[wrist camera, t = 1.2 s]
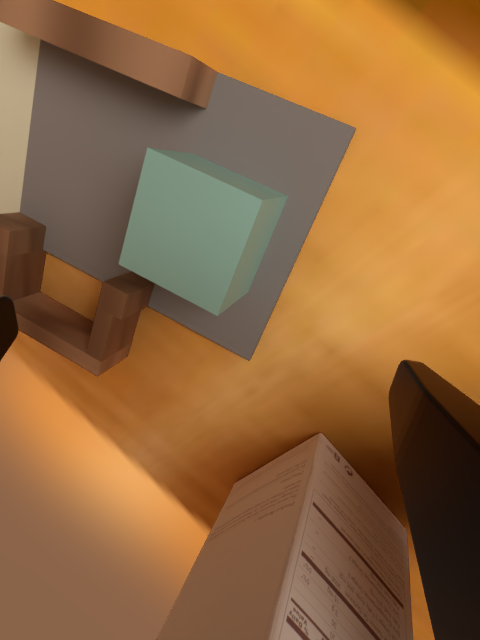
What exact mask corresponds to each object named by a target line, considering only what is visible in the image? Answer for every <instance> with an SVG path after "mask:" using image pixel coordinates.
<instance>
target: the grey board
mask: <svg viewBox="0 0 480 640" xmlns="http://www.w3.org/2000/svg"><path fill="white" fill-rule="evenodd" d="M355 130H356V128H355V127H352V126H350V125H347V124H345V123H342V122H340V121H337V120H335V119H332V118H330V117H327V116H325V115H322V114H320V113H317V112H315V111H312V110H310V109H307V108H305V107H303V106H300V105H298V104H295V103H293V102H290V101H288V100H285V99H283V98H280V97H278V96H275V95H273V94H270V93H268V92H265V91H263V90H260V89H258V88H255V87H253V86H251V85H248V84H246V83H243V82H241V81H238V80H236V79H233V78H231V77H228V76H226V75H223V74H221V73H217V76H216V79H215V83H214V86H213V89H212V93H211V96H210V99H209V103H208V106H207V109H206V108H203V107H201V106H198V105H196V104H193V103H191V102H188V101H186V100H183V99H181V98H178V97H176V96H173V95H171V94H169V93H166V92H164V91H162V90H159V89H157V88H155V87H152V86H150V85H148V84H145V83H143V82H140V81H138V80H136V79H133V78H131V77H129V76H126V75H124V74H122V73H119V72H117V71H115V70H112V69H110V68H107V67H105V66H103V65H100V64H98V63H96V62H93V61H91V60H89V59H86V58H84V57H82V56H79V55H77V54H75V53H72V52H70V51H67V50H65V49H63V48H60V47H58V46H56V45H53V44H51V43H49V42H46V41H44V40H42V39H39V38H37V37H34V36H32V35H30V34H27V33H25V32H23V31H20V30H18V29H16V28H13V27H11V26H9V25H6V24H4V23H1V22H0V214H4V213H16V212H20V213H22V214H24V215H26V216H28V217H30V218H32V219H34V220H35V221H37V222H39V223H41V224H43V225H45V226H46V232H45V239H44V245H43V250H44V251H46V252H48V253H50V254H52V255H53V256H55V257H57V258H59V259H61V260H63V261H65V262H66V263H68V264H70V265H72V266H74V267H76V268H78V269H79V270H81V271H83V272H85V273H87V274H89V275H91V276H92V277H94V278H96V279H98V280H100V281H102V282H103V281H106V280H109V279H111V278H114V277H117V276H120V275H123V274H126V273H129V272H131V270H129V269H127V268H125V267H123V266H121V265H119V260H120V256H121V252H122V248H123V244H124V240H125V236H126V232H127V228H128V224H129V220H130V216H131V212H132V208H133V203H134V199H135V195H136V191H137V187H138V183H139V179H140V175H141V171H142V167H143V163H144V159H145V155H146V151H147V147H148V148H156V149H163V150H170V151H177V152H185V153H192V154H195V155H197V156H200V157H202V158H204V159H206V160H208V161H211V162H213V163H215V164H217V165H220V166H222V167H224V168H226V169H229V170H231V171H233V172H235V173H237V174H240V175H242V176H244V177H246V178H249V179H251V180H253V181H255V182H257V183H260V184H262V185H264V186H266V187H269V188H271V189H273V190H275V191H277V192H280V193H282V194H284V195H286V196H288V198H287V200H286V202H285V205H284V207H283V210H282V212H281V214H280V217H279V219H278V222H277V224H276V226H275V229H274V231H273V234H272V236H271V238H270V241H269V243H268V246H267V248H266V250H265V253H264V255H263V258H262V260H261V262H260V265H259V267H258V270H257V272H256V274H255V277H254V279H253V281H252V284H251V286H250V289H249V291H248V293H246V294H245V295H244V296H242V297H241V298H240V299H239V300H237V301H236V302H235V303H234V304H232V305H231V306H230V307H228V308H227V309H226V310H225V311H223V312H222V313H221V314H220V315H218V316H216V315H215V314H213V313H211V312H209V311H207V310H205V309H203V308H201V307H199V306H197V305H195V304H194V303H192V302H190V301H188V300H186V299H184V298H182V297H180V296H178V295H176V294H174V293H173V292H171V291H169V290H167V289H165V288H163V287H161V286H159V285H157V284H154V288H153V291H152V294H151V298H150V301H149V304H148V307H150V308H152V309H154V310H156V311H157V312H159V313H161V314H163V315H165V316H167V317H169V318H170V319H172V320H174V321H176V322H178V323H180V324H182V325H183V326H185V327H187V328H189V329H191V330H193V331H195V332H196V333H198V334H200V335H202V336H204V337H206V338H208V339H209V340H211V341H213V342H215V343H217V344H219V345H221V346H222V347H224V348H226V349H228V350H230V351H232V352H234V353H235V354H237V355H239V356H241V357H243V358H245V359H247V360H248V361H249V360H250V359H251V357H252V355H253V353H254V351H255V349H256V346H257V344H258V342H259V340H260V338H261V335H262V333H263V331H264V329H265V327H266V325H267V322H268V320H269V318H270V316H271V314H272V311H273V309H274V307H275V305H276V303H277V301H278V298H279V296H280V294H281V292H282V290H283V287H284V285H285V283H286V281H287V279H288V277H289V274H290V272H291V270H292V268H293V266H294V263H295V261H296V259H297V257H298V255H299V253H300V250H301V248H302V246H303V244H304V242H305V239H306V237H307V235H308V233H309V231H310V229H311V226H312V224H313V222H314V220H315V218H316V215H317V213H318V211H319V209H320V207H321V205H322V202H323V200H324V198H325V196H326V194H327V191H328V189H329V187H330V185H331V183H332V181H333V178H334V176H335V174H336V172H337V170H338V167H339V165H340V163H341V161H342V159H343V157H344V154H345V152H346V150H347V148H348V146H349V143H350V141H351V139H352V137H353V135H354V133H355Z"/></svg>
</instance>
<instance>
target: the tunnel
mask: <svg viewBox="0 0 480 640" xmlns="http://www.w3.org/2000/svg"><path fill="white" fill-rule="evenodd" d="M0 22H1V23H4V24H6V25H9V26H11V27H13V28H16V29H18V30H20V31H23V32H25V33H27V34H30V35H32V36H34V37H37V38H39V39H42V40H44V41H46V42H49V43H51V44H53V45H56V46H58V47H60V48H63V49H65V50H67V51H70V52H72V53H75V54H77V55H79V56H82V57H84V58H86V59H89V60H91V61H93V62H96V63H98V64H100V65H103V66H105V67H107V68H110V69H112V70H115V71H117V72H119V73H122V74H124V75H126V76H129V77H131V78H133V79H136V80H138V81H140V82H143V83H145V84H148V85H150V86H152V87H155V88H157V89H159V90H162V91H164V92H166V93H169V94H171V95H173V96H176V97H178V98H181V99H183V100H186V101H188V102H191V103H193V104H196V105H198V106H201V107H203V108H206V109H207V106H208V103H209V99H210V96H211V93H212V89H213V86H214V83H215V79H216V76H217V73H218V72H216V71H215V70H213V69H212V68H210V67H209V66H207V65H205V64H204V63H202V62H201V61H199V60H197V59H196V58H194V57H193V56H190V55H188V54H185V53H183V52H180V51H178V50H175V49H173V48H171V47H168V46H166V45H163V44H161V43H158V42H156V41H153V40H151V39H148V38H146V37H143V36H141V35H138V34H136V33H133V32H131V31H128V30H126V29H123V28H121V27H118V26H116V25H113V24H111V23H108V22H106V21H103V20H101V19H98V18H96V17H93V16H91V15H88V14H86V13H83V12H81V11H78V10H76V9H73V8H71V7H68V6H66V5H63V4H61V3H58V2H56V1H53V0H0ZM45 232H46V226H45V225H43V224H41V223H39V222H37V221H35V220H34V219H32V218H30V217H28V216H26V215H24V214H22V213H20V212H16V213H4V214H0V295H4V296H8V297H10V298H11V299H12V300H13V302H14V307H15V312H16V317H17V322H18V330H20V331H21V332H23V333H25V334H26V335H28V336H30V337H31V338H33V339H35V340H37V341H38V342H40V343H42V344H43V345H45V346H47V347H48V348H50V349H52V350H54V351H55V352H57V353H59V354H60V355H62V356H64V357H65V358H67V359H69V360H70V361H72V362H74V363H76V364H77V365H79V366H81V367H82V368H84V369H86V370H87V371H89V372H91V373H93V374H94V375H96V376H99V375H100V374H102V373H103V372H105V371H106V370H108V369H109V368H111V367H112V366H114V365H115V364H117V363H118V362H120V361H121V360H123V359H124V358H126V357H127V356H128V352H129V349H130V346H131V342H132V339H133V335H134V332H135V328H136V325H137V321H138V318H139V315H140V311H141V310H142V309H144V308H146V307H148V304H149V301H150V298H151V294H152V291H153V288H154V284H155V283H154V282H152V281H150V280H148V279H146V278H144V277H142V276H140V275H138V274H136V273H134V272H133V271H131V272H129V273H126V274H123V275H120V276H117V277H114V278H111V279H109V280H106V281H103V284H102V289H101V293H100V297H99V301H98V306H97V310H96V314H95V318H94V322H92V321H91V320H89V319H87V318H85V317H83V316H82V315H80V314H78V313H76V312H74V311H73V310H71V309H69V308H67V307H66V306H64V305H62V304H60V303H58V302H57V301H55V300H53V299H51V298H50V297H48V296H46V295H44V294H42V293H41V292H40V288H41V282H42V276H43V269H44V263H45V257H46V251H44V250H43V245H44V239H45Z"/></svg>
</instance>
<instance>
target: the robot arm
mask: <svg viewBox="0 0 480 640" xmlns="http://www.w3.org/2000/svg"><path fill="white" fill-rule="evenodd" d="M17 334H18V322H17V317H16V312H15V307H14V302H13V300H12V299H11V298H10V297H8V296H4V295H0V361H1V359H2V358H3V356H4V355H5V353H6V352H7V350H8V349H9V347H10V346H11V344H12V343H13V342H14V340H15V339H16V337H17ZM389 408H390V418H391V428H392V439H393V449H394V457H395V463H396V468H397V473H398V477H399V482H400V486H401V490H402V495H403V499H404V504H405V508H406V513H407V517H408V522H409V526H410V530H411V535H412V539H413V544H414V548H415V553H416V557H417V562H418V566H419V571H420V575H421V579H422V584H423V588H424V593H425V597H426V602H427V606H428V611H429V615H430V619H431V624H432V628H433V633H434V637H435V640H480V405H478V404H477V403H476V402H474V401H473V400H472V399H470V398H469V397H468V396H466V395H465V394H463V393H462V392H461V391H459V390H458V389H457V388H455V387H454V386H453V385H451V384H450V383H449V382H447V381H446V380H445V379H443V378H442V377H441V376H439V375H438V374H437V373H435V372H434V371H433V370H431V369H430V368H429V367H427V366H426V365H425V364H423V363H421V362H417V361H411V360H403V361H401V362H400V364H399V366H398V368H397V371H396V374H395V376H394V379H393V382H392V384H391V387H390V391H389Z"/></svg>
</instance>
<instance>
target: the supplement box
mask: <svg viewBox="0 0 480 640" xmlns="http://www.w3.org/2000/svg"><path fill="white" fill-rule="evenodd" d="M156 640H413V629H412V612H411V594H410V574H409V556H408V539H407V531H406V529H405V528H404V527H403V526H402V524H401V523H400V522H399V521H398V519H397V518H396V517H395V516H394V514H393V513H392V512H391V511H390V510H389V509H388V508H387V507H386V505H385V504H384V503H383V502H382V501H381V499H380V498H379V497H378V496H377V495H376V494H375V493H374V492H373V490H372V489H371V488H370V487H369V486H368V485H367V483H366V482H365V481H364V480H363V479H362V478H361V477H360V475H359V474H358V473H357V472H356V471H355V470H354V469H353V468H352V466H351V465H350V464H349V463H348V462H347V461H346V459H345V458H344V457H343V456H342V455H341V454H340V453H339V452H338V450H337V449H336V448H335V447H334V446H333V445H332V444H331V443H330V441H329V440H328V439H327V438H326V437H325V436H324V435H323V434H322V433H319V434H317V435H315V436H313V437H312V438H310V439H308V440H306V441H305V442H303V443H301V444H300V445H298V446H296V447H294V448H293V449H291V450H289V451H288V452H286V453H284V454H283V455H281V456H279V457H278V458H276V459H274V460H273V461H271V462H269V463H268V464H266V465H264V466H263V467H261V468H259V469H258V470H256V471H254V472H253V473H251V474H249V475H248V476H246V477H244V478H243V479H241V480H239V481H238V482H236V483H234V485H233V487H232V490H231V491H230V493H229V495H228V497H227V499H226V501H225V503H224V505H223V507H222V509H221V511H220V513H219V515H218V517H217V519H216V521H215V523H214V525H213V527H212V529H211V531H210V533H209V535H208V537H207V539H206V541H205V543H204V545H203V547H202V549H201V551H200V553H199V555H198V557H197V559H196V561H195V563H194V565H193V567H192V569H191V571H190V573H189V575H188V577H187V579H186V581H185V583H184V585H183V587H182V589H181V591H180V593H179V595H178V597H177V599H176V601H175V603H174V605H173V607H172V609H171V611H170V613H169V615H168V617H167V619H166V621H165V623H164V625H163V627H162V629H161V631H160V633H159V635H158V637H157V639H156Z"/></svg>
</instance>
